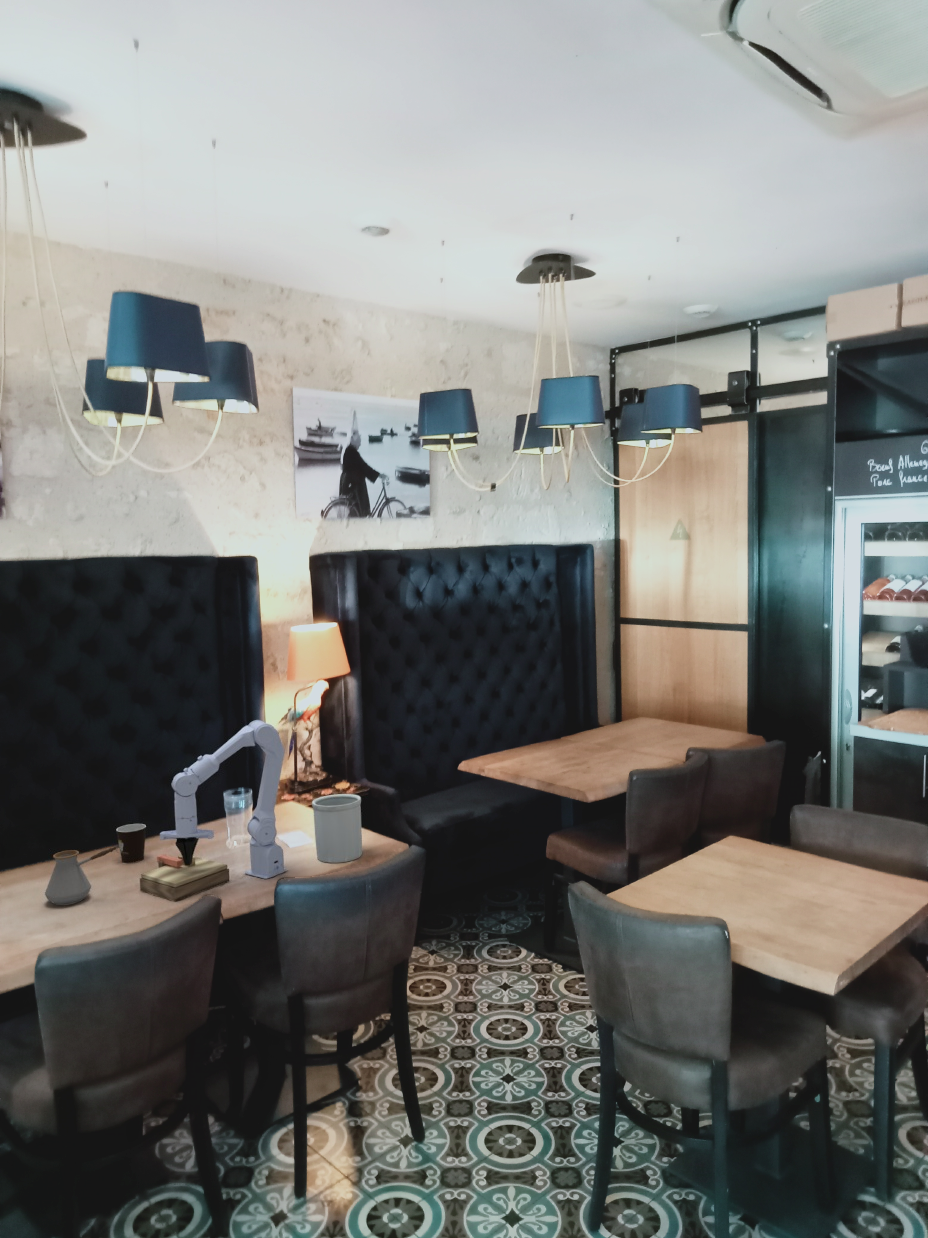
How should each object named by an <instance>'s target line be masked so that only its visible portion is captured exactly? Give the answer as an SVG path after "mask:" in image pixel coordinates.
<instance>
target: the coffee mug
mask: <svg viewBox="0 0 928 1238" xmlns="http://www.w3.org/2000/svg"><path fill="white" fill-rule="evenodd" d="M146 829H147V826H146V824H143V823H133V824H125V825H122V826H119V827H117V828H116V837H117V841H118V846H119V853H120V852H121V853H120V856H121V857H120V859H121V862H122V863H124V864H125V863H126V864H132V863H137V862H140V861H141V862H142V861H143V860H144V859H145V845H146V832H147V831H146ZM120 847H121V848H120ZM121 849H122V851H121Z"/></svg>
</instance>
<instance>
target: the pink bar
mask: <svg viewBox="0 0 928 1238" xmlns="http://www.w3.org/2000/svg"><path fill="white" fill-rule="evenodd" d="M156 860H157V861H156V862H157V863H158V861H162V862H163V863H164V864H168V865H171V866H175V867H179V866H182V865H183V860H182V859H178V857H173V856H170V855H167V854H165V853H164V854H161V855H157V856H156Z"/></svg>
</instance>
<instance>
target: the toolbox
mask: <svg viewBox="0 0 928 1238" xmlns="http://www.w3.org/2000/svg"><path fill="white" fill-rule="evenodd" d="M157 864H158V868H160V867H163V866H166V865H168V864H164V863H163V862H162V861H158V862H157ZM229 882H230V869H229V868H227V869H224V870H221V871H219V872H216V873H213V874H210V875H208V876H205V877H202V878H200V879H197V880H194V881H191V882H189V883H186V884H183V885H180V886H178V887H172V886H169V885H165V884H162V883H158V882H155V881H152V880H148V879H145V878H141V877H140V878H139V889H140V890H139V891H141V892H143V893H146V894H149V895H152V894H153V896H156V897H159V898H163V899H165V898H166V900H169V901H172V902H179V901H181V900H183V899H186V898H189V897H191V896H194V895H197V894H199V893H202V892H205V891H208V890H211V889H213V888H216V887H218V886H220V885H223V884H225V883H229Z"/></svg>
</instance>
